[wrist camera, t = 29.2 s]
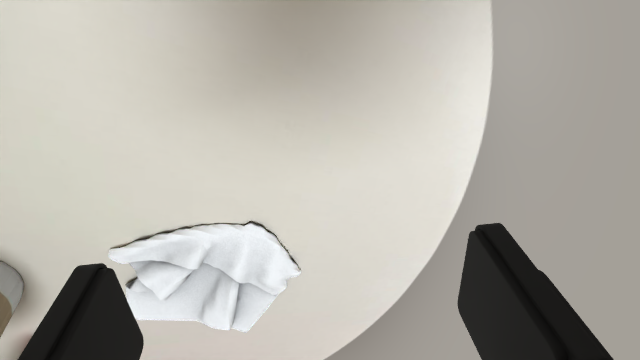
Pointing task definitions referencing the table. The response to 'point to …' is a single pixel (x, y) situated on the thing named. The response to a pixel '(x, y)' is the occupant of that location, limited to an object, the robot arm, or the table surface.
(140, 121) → the table surface
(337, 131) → the table surface
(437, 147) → the table surface
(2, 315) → the coffee cup
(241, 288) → the cloth
